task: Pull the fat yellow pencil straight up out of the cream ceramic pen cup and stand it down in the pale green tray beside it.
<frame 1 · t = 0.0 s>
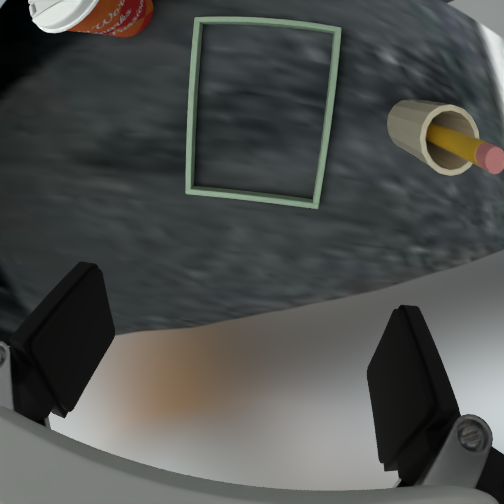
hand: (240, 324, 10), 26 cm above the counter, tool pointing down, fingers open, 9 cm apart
tray: (260, 108, 30), on the counter
paper cup: (133, 15, 26), on the counter
pen cup: (410, 124, 29), on the counter
pencil: (412, 125, 28), point 1 cm above the counter, touching pen cup
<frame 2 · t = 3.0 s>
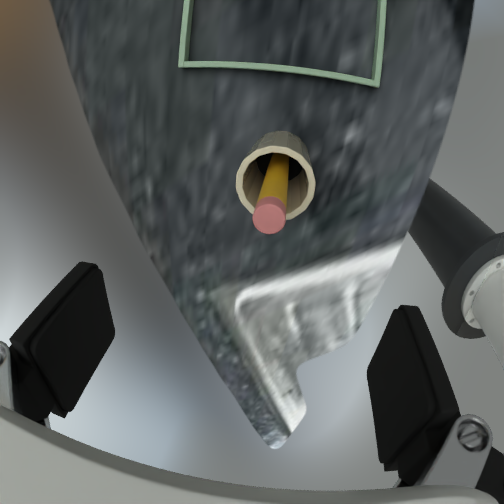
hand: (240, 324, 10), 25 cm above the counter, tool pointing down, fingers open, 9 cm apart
tray: (284, 8, 24), on the counter
pen cup: (280, 157, 32), on the counter
pencil: (280, 158, 31), point 1 cm above the counter, touching pen cup
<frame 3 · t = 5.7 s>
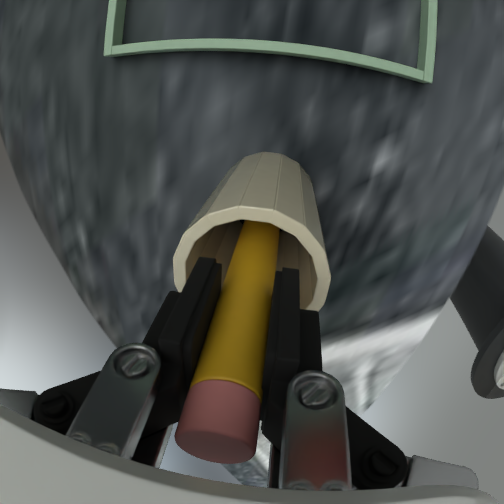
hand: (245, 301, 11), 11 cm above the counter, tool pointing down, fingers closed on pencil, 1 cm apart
pen cup: (268, 194, 20), on the counter
pencil: (267, 197, 20), point 1 cm above the counter, touching gripper, pen cup
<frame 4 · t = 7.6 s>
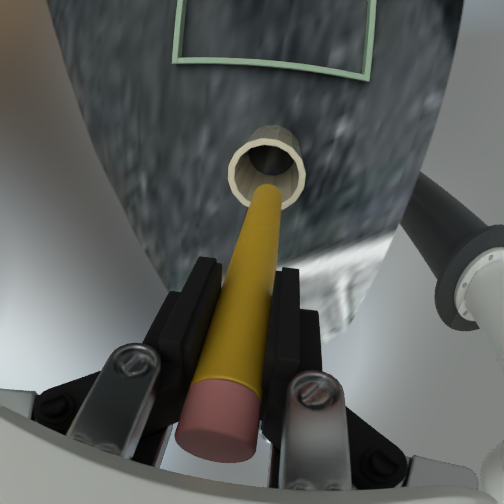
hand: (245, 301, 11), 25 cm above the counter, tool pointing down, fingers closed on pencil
tray: (276, 5, 24), on the counter
pen cup: (272, 151, 32), on the counter
pencil: (267, 197, 20), point 14 cm above the counter, touching gripper
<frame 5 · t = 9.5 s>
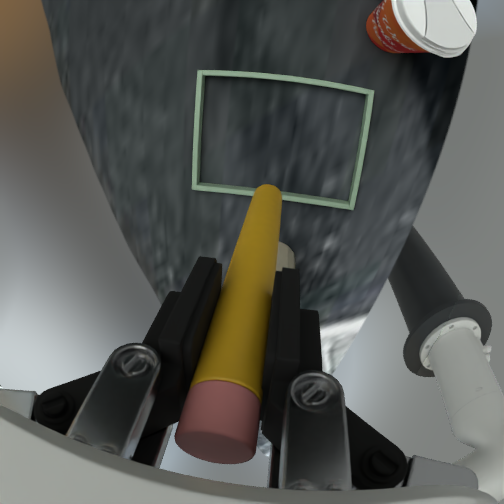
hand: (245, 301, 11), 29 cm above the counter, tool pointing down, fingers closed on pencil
tray: (280, 135, 35), on the counter
paper cup: (388, 31, 27), on the counter
pen cup: (273, 258, 43), on the counter
pencil: (267, 197, 20), point 18 cm above the counter, touching gripper
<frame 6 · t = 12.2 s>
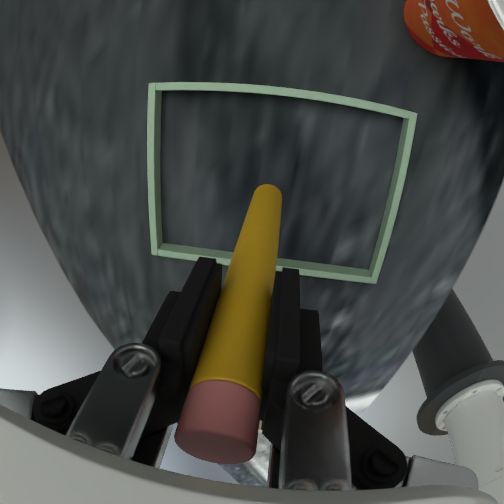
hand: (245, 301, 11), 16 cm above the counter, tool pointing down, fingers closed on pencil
tray: (274, 178, 24), on the counter
paper cup: (432, 24, 16), on the counter
pencil: (267, 197, 20), point 5 cm above the counter, touching gripper
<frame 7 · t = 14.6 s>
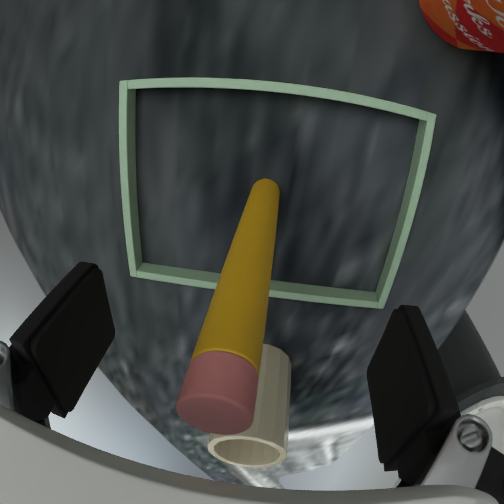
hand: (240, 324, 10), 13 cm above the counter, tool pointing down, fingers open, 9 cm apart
tray: (267, 189, 21), on the counter
paper cup: (450, 13, 13), on the counter
pen cup: (259, 359, 29), on the counter
pencil: (265, 191, 20), resting on tray
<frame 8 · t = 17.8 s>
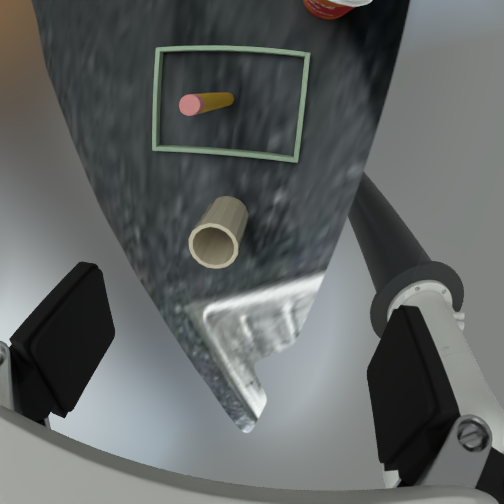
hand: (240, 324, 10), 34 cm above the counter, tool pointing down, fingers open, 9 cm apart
tray: (228, 99, 38), on the counter
paper cup: (325, 2, 30), on the counter
pen cup: (228, 214, 45), on the counter
pencil: (227, 99, 37), resting on tray
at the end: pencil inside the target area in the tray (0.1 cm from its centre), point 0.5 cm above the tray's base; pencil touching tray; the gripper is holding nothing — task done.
